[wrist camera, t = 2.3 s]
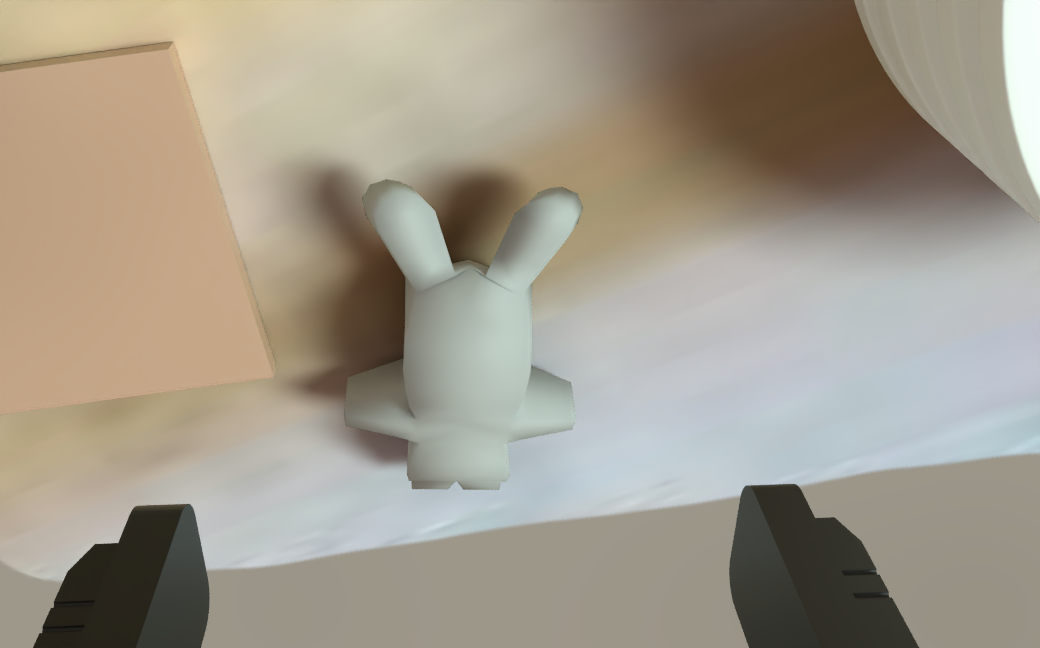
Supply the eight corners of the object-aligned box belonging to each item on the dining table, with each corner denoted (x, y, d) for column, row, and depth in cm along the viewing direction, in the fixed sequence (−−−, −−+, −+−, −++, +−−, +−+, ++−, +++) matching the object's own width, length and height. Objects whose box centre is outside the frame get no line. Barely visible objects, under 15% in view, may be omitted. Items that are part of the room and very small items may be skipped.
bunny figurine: (344, 517, 41) (332, 225, 32) (352, 429, 45) (344, 146, 35) (565, 519, 42) (618, 236, 33) (554, 433, 46) (599, 158, 36)
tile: (-229, 96, 33) (-242, 105, 33) (173, 41, 33) (168, 49, 33) (-50, 410, 41) (-58, 422, 41) (276, 365, 41) (273, 377, 41)
